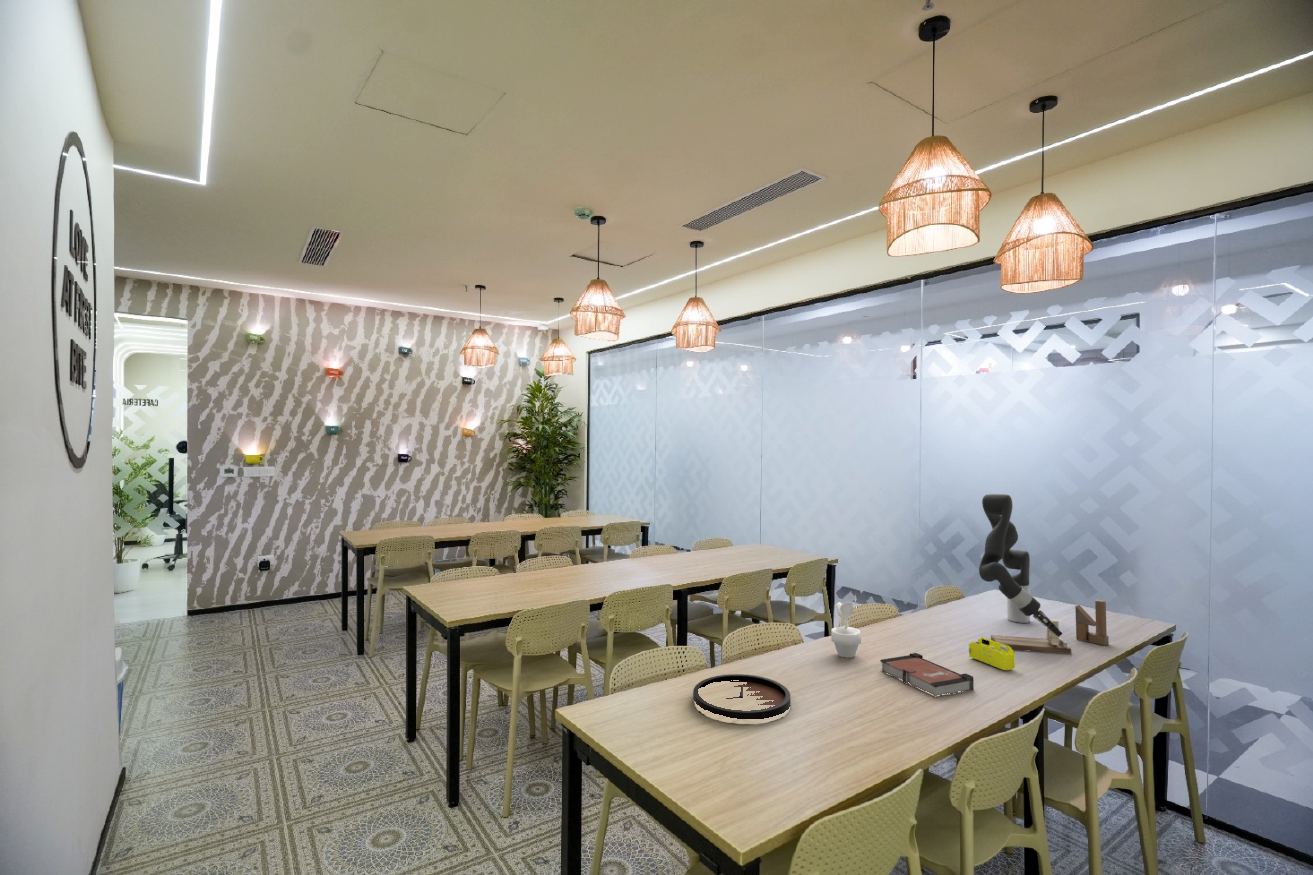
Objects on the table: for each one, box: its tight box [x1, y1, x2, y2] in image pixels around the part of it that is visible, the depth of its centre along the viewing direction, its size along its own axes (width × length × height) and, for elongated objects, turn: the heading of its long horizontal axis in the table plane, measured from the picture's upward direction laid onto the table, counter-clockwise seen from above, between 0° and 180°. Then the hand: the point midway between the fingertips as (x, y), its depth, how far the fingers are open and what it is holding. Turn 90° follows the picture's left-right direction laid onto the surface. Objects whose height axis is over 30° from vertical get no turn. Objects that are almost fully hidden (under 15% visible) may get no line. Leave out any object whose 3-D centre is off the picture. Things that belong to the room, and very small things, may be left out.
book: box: [880, 652, 975, 697], centre depth 216 cm, size 26×18×5 cm
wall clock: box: [692, 673, 792, 719], centre depth 198 cm, size 31×4×31 cm
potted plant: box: [830, 593, 862, 659], centre depth 243 cm, size 13×12×25 cm
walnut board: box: [990, 634, 1072, 655], centre depth 251 cm, size 12×26×4 cm, turn 74°
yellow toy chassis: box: [968, 636, 1016, 671], centre depth 231 cm, size 16×6×8 cm, turn 19°
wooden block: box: [1074, 599, 1110, 646], centre depth 256 cm, size 4×11×18 cm, turn 33°
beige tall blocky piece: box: [1046, 618, 1060, 645], centre depth 247 cm, size 7×3×9 cm, turn 164°
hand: (1058, 633), depth 246 cm, fingers closed on beige tall blocky piece, 3 cm apart
